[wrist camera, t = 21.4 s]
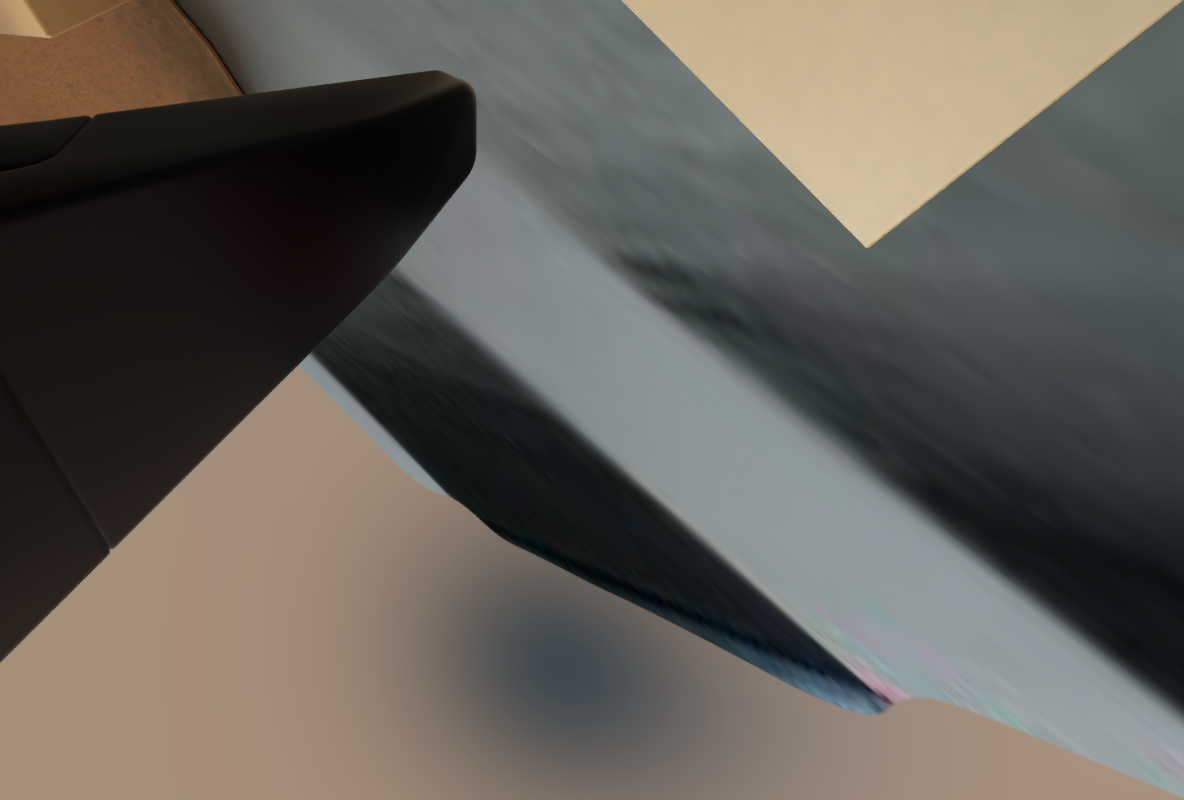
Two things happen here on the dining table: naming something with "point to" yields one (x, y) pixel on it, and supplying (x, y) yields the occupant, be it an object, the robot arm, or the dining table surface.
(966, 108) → the wooden block
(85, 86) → the pottery
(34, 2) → the napkin holder
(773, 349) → the dining table surface
